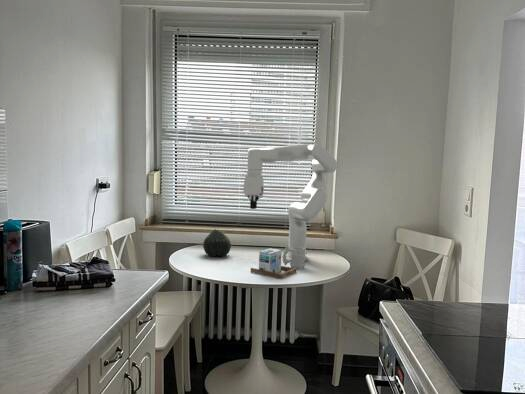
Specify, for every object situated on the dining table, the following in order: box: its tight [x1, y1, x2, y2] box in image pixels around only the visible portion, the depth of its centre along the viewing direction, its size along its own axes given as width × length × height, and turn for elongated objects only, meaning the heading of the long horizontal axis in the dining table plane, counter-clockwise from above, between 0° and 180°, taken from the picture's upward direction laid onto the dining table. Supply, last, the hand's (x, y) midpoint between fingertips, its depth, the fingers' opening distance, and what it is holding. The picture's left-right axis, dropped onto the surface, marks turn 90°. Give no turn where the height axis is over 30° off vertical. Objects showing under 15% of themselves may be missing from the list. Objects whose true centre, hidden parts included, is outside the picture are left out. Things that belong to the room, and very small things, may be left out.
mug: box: [281, 243, 306, 270], centre depth 229 cm, size 8×12×12 cm, turn 94°
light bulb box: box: [258, 247, 283, 273], centre depth 219 cm, size 11×7×11 cm, turn 147°
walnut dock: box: [250, 265, 298, 280], centre depth 219 cm, size 14×17×2 cm
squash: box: [202, 228, 232, 258], centre depth 250 cm, size 14×15×15 cm
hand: (253, 208), depth 231 cm, fingers closed
